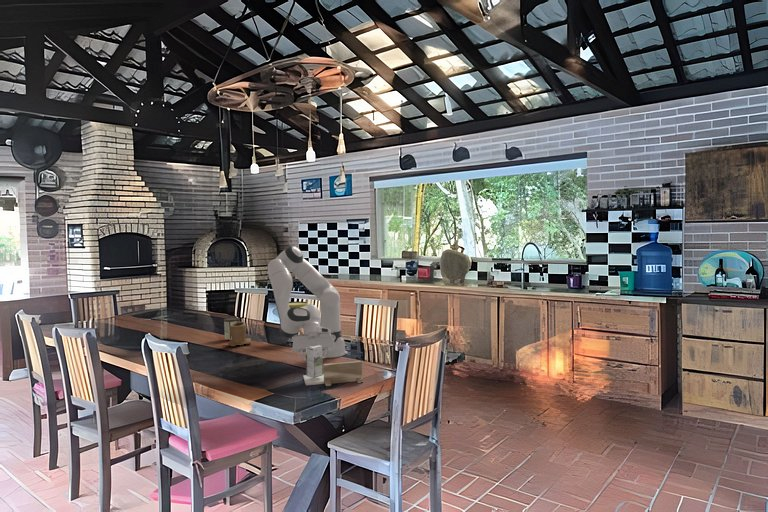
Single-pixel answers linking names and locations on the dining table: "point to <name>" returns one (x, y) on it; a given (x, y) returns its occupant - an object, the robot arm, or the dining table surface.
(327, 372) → the birch screen
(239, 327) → the stone cup
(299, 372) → the dining table surface
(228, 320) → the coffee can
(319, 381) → the display pad
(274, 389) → the dining table surface
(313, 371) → the syrup box
